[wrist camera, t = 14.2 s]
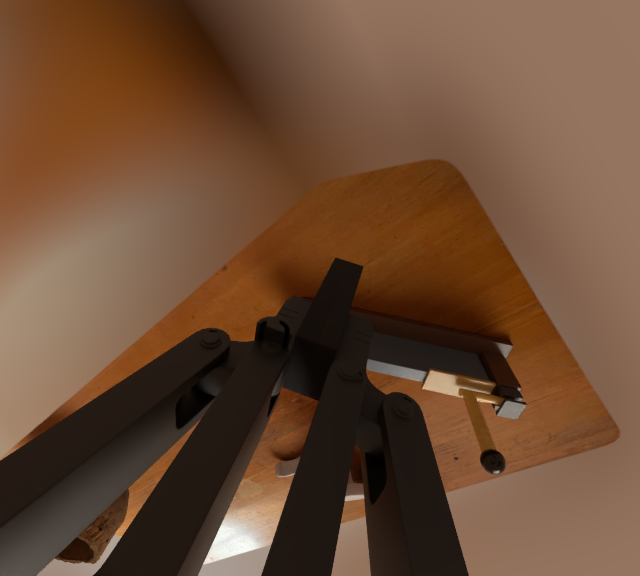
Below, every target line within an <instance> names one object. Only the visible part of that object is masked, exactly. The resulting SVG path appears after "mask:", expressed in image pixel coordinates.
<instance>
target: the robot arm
mask: <svg viewBox="0 0 640 576" xmlns="http://www.w3.org/2000/svg"><path fill="white" fill-rule="evenodd" d="M363 267H364V266H360V265H357V264H354V263H351V262H348V261H345V260H341V259H338V258H335V260H334V261H333V263H332V265H331V267H330V269H329V271H328V273H327V275H326V277H325V279H324V281H323V283H322V285H321V287H320V289H319V290H318V292H317V294H316V296H315V298H314V300H313V302H311V301H308V300H305V299H302V298H300V297H297V296H293V297H292V298H290V299H288V300H286V302H285V303H284V305H283V306H282V308H281V309H280V311H279V312H278V314H277V315H276V317H275V316H273V317H265V318H262V319H261V320H259V321H258V322H257V326H256V333H255V340H254V341H250V342H238V341H230V338H229V335H228V334H227V333H226V332H224V331H222V330H220V329H216V328H207V329H202V330H200V331H198V332H196V333H194V334H193V335H191V336H190V337H188V338H187V339H185V340H183V341H182V342H180V343H179V344H177V345H176V346H174V347H173V348H171V349H170V350H168V351H167V352H165V353H164V354H162V355H161V356H159V357H158V358H156V359H155V360H153V361H152V362H150V363H148V364H147V365H145V366H144V367H142V368H141V369H139V370H138V371H136V372H135V373H133V374H132V375H130V376H129V377H127V378H126V379H124V380H123V381H121V382H120V383H118V384H117V385H115V386H113V387H112V388H110V389H109V390H107V391H106V392H104V393H103V394H101V395H100V396H98V397H97V398H95V399H94V400H92V401H91V402H89V403H88V404H86V405H85V406H83V407H81V408H80V409H78V410H77V411H75V412H74V413H72V414H71V415H69V416H68V417H66V418H65V419H63V420H62V421H60V422H59V423H57V424H56V425H54V426H53V427H51V428H50V429H48V430H46V431H45V432H43V433H42V434H40V435H39V436H37V437H36V438H34V439H33V440H31V441H30V442H28V443H27V444H25V445H24V446H22V447H21V448H19V449H18V450H16V451H15V452H13V453H11V454H10V455H8V456H7V457H5V458H4V459H2V460H1V461H0V576H36V575H37V574H38V573H39V572H40V571H42V569H44V568H45V567H46V566H47V565H48V564H49V563H50V562H51V561H52V560H53V559H54V558H55V557H56V556H57V555H58V554H59V553H60V552H62V551H63V550H64V549H65V548H66V547H67V546H68V545H69V544H70V543H71V542H72V541H73V540H74V539H75V538H76V537H77V536H78V535H79V534H80V533H82V532H83V531H84V530H85V529H86V528H87V527H88V526H89V525H90V524H91V523H92V522H93V521H94V520H95V519H96V518H97V517H98V516H99V515H100V514H101V513H103V512H104V511H105V510H106V509H107V508H108V507H109V506H110V505H111V504H112V503H113V502H114V501H115V500H116V499H117V498H118V497H119V496H120V495H121V494H123V493H124V492H125V491H126V490H127V489H128V488H129V487H130V486H131V485H132V484H133V483H134V482H135V481H136V480H137V479H138V478H139V477H140V476H141V475H143V474H144V473H145V472H146V471H147V470H148V469H149V468H150V467H151V466H152V465H153V464H154V463H155V462H156V461H157V460H158V459H159V458H160V457H161V456H163V455H164V454H165V453H166V452H167V451H168V450H169V449H170V448H171V447H172V446H173V445H174V444H175V443H176V442H177V441H178V440H179V439H180V438H181V437H183V436H184V435H185V434H186V433H187V432H188V431H189V430H190V429H191V428H192V427H193V426H194V425H195V424H196V423H197V422H198V421H199V420H200V419H201V418H202V419H201V420H200V422H199V423H198V425H197V426H196V428H195V429H194V431H193V432H192V434H191V435H190V437H189V438H188V440H187V441H186V443H185V444H184V446H183V447H182V449H181V450H180V451H179V453H178V454H177V456H176V457H175V459H174V460H173V462H172V463H171V465H170V466H169V468H168V469H167V471H166V472H165V474H164V475H163V477H162V478H161V480H160V481H159V483H158V484H157V486H156V487H155V489H154V490H153V492H152V493H151V495H150V496H149V497H148V499H147V500H146V502H145V503H144V505H143V506H142V508H141V509H140V511H139V512H138V514H137V515H136V517H135V518H134V520H133V521H132V523H131V524H130V526H129V527H128V529H127V530H126V532H125V533H124V535H123V536H122V538H121V539H120V541H119V542H118V543H117V545H116V547H115V548H114V550H113V551H112V552H111V554H110V555H109V557H108V558H107V560H106V561H105V563H104V564H103V565H102V567H101V568H100V569H99V570H98V571H97V572H96V573H95V574H94V575H93V576H198V574H199V572H200V569H201V567H202V565H203V563H204V561H205V558H206V556H207V554H208V552H209V550H210V548H211V545H212V543H213V541H214V539H215V537H216V534H217V532H218V530H219V528H220V526H221V524H222V521H223V519H224V517H225V515H226V513H227V510H228V508H229V506H230V504H231V502H232V500H233V497H234V495H235V493H236V491H237V489H238V486H239V484H240V482H241V480H242V478H243V476H244V473H245V471H246V469H247V467H248V465H249V462H250V460H251V458H252V456H253V454H254V452H255V449H256V447H257V445H258V443H259V441H260V438H261V436H262V434H263V432H264V430H265V428H266V425H267V423H268V421H269V419H270V417H271V414H272V412H273V410H274V408H275V406H276V404H277V401H278V399H279V395H280V390H281V388H282V386H283V384H284V386H283V388H285V389H288V390H291V391H294V392H296V393H299V394H302V395H304V396H307V397H310V398H313V399H315V400H318V401H319V402H318V405H317V408H316V411H315V414H314V417H313V420H312V423H311V426H310V429H309V432H308V435H307V438H306V441H305V444H304V447H303V450H302V453H301V456H300V459H299V463H298V466H297V469H296V472H295V475H294V478H293V481H292V484H291V487H290V490H289V493H288V496H287V499H286V502H285V505H284V508H283V511H282V514H281V517H280V520H279V523H278V526H277V530H276V533H275V536H274V539H273V542H272V545H271V548H270V551H269V554H268V557H267V560H266V563H265V566H264V569H263V572H262V575H261V576H331V573H332V568H333V562H334V557H335V551H336V545H337V540H338V534H339V529H340V523H341V518H342V512H343V507H344V501H345V496H346V490H347V485H348V479H349V474H350V468H351V463H352V457H353V451H354V446H355V445H357V446H358V447H359V448H360V455H361V466H362V478H363V489H364V501H365V512H366V524H367V535H368V547H369V558H370V570H371V576H469V575H468V572H467V568H466V564H465V561H464V557H463V554H462V550H461V547H460V543H459V540H458V536H457V533H456V529H455V526H454V522H453V518H452V515H451V512H450V508H449V504H448V501H447V497H446V494H445V490H444V487H443V483H442V480H441V476H440V473H439V469H438V466H437V462H436V459H435V455H434V452H433V448H432V445H431V441H430V438H429V434H428V431H427V427H426V424H425V420H424V417H423V413H422V411H421V409H420V406H419V405H418V404H417V403H416V402H415V400H414V399H412V398H411V397H409V396H408V395H406V394H403V393H399V392H392V393H390V394H388V395H386V394H384V393H383V392H381V391H380V390H378V389H377V388H376V387H374V386H373V385H372V383H371V382H370V381H369V379H368V377H367V374H366V366H367V361H368V355H369V350H370V344H371V339H372V334H373V326H372V324H371V321H370V320H368V319H365V318H362V317H359V316H356V315H353V314H350V313H349V311H350V307H351V304H352V301H353V298H354V295H355V292H356V289H357V285H358V282H359V279H360V276H361V273H362V270H363Z"/></svg>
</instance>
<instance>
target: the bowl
mask: <svg viewBox="0 0 640 576" xmlns="http://www.w3.org/2000/svg"><path fill="white" fill-rule="evenodd" d="M128 499H129V490H128V489H127V490H126V491H125V492H124V493H123V494H121V495H120V496H119V497H118V498H117V499H116V500H115V501H114V502H113V503H112V504H111V505H110V506H109V507H108V508H107V509H106V510H105V511H104V512H103V513H101V514H100V515H99V516H98V517H97V518H96V519H95V520H94V521H93V522H92V523H91V524H90V525H89V526H88V527H87V528H86V529H85V530H84V531H83V532H82V533H80V534H79V535H78V536H77V537H76V538H75V539H74V540H73V541H72V542H71V543H70V544H69V545H68V546H67V547H66V548H65V549H64V550H63V551H62V552H60V553H59V554H58V555H57V556H56V557H55V559H58V560H62V561H64V562H70V563H81V562H85V563H92V564H94V563H96V562H97V561H98V560H99V558H100V556H101V555H102V554H103V552H104V550H105V548H106V547H107V545H108V544H109V542H110V540H111V538H112V537H113V535H114V534H115V532H116V531H117V530H118V528H119V527H120V526H121V525H122V523H123V522H124V519H125V516H126V513H127V508H128Z"/></svg>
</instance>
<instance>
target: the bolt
mask: <svg viewBox="0 0 640 576" xmlns="http://www.w3.org/2000/svg"><path fill="white" fill-rule="evenodd" d="M458 393H459V396H461V397H463V398H464V401H465V404H466V407H467V410H468V413H469V416H470V419H471V422H472V425H473V428H474V431H475V434H476V437H477V440H478V443H479V446H480V449H481V452H482V453H481V456H480V462H481V465H482V467H483V468H484V469H485V470H486V471H487V472H489V473H491V474H495V475H497V474H501V473H502V472H503V471H504V470H505V467H506V462H505V459H504V457H503V455H502V454H501V453H500V452H498V451H497V450H496V447H495V445H494V442H493V440H492V437H491V434H490V432H489V429H488V427H487V424H486V421H485V419H484V416H483V414H482V411H481V408H480V406H479V403H478V401H477V400H479V401H483V402H488V403H492V404H497V405H501V404H502V402H503V400H504V399H505V398H503V397H500V396H495V395H491V394H486V393H482V392H477V391H473V390H468V389H464V388H460V389H459V392H458Z"/></svg>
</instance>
